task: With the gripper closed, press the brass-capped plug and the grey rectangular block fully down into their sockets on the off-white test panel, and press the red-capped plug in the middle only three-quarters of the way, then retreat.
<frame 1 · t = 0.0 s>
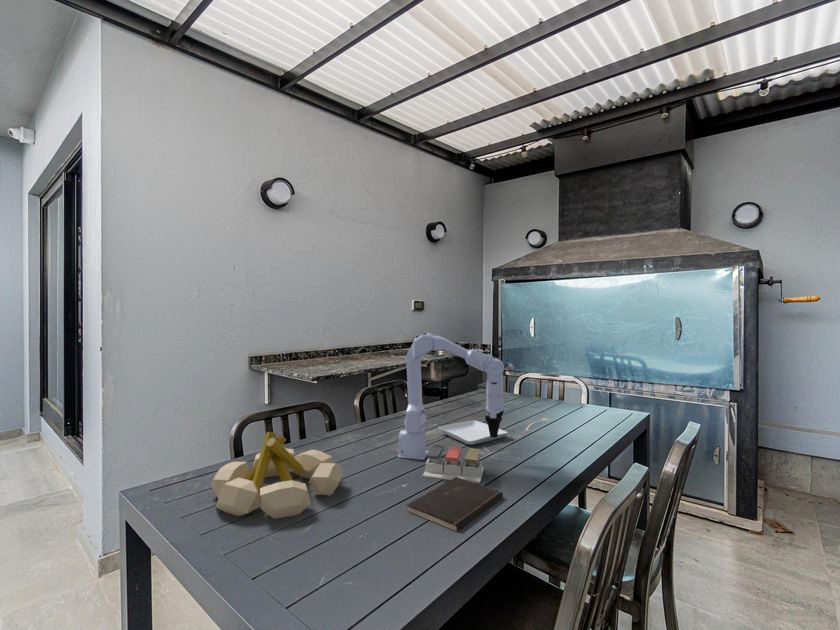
hand: (494, 433, 143), 10 cm above the table, tool pointing down, fingers open, 7 cm apart
campfire: (278, 492, 121), on the table
salad plate: (472, 437, 172), on the table
brass plug: (472, 460, 133), point 5 cm above the table, slide at 0.0 cm
red plug: (453, 458, 135), point 5 cm above the table, slide at 0.0 cm
hardcover book: (456, 507, 114), on the table
test panel: (453, 472, 135), on the table
grey rectangular block: (435, 456, 136), point 5 cm above the table, slide at 0.0 cm
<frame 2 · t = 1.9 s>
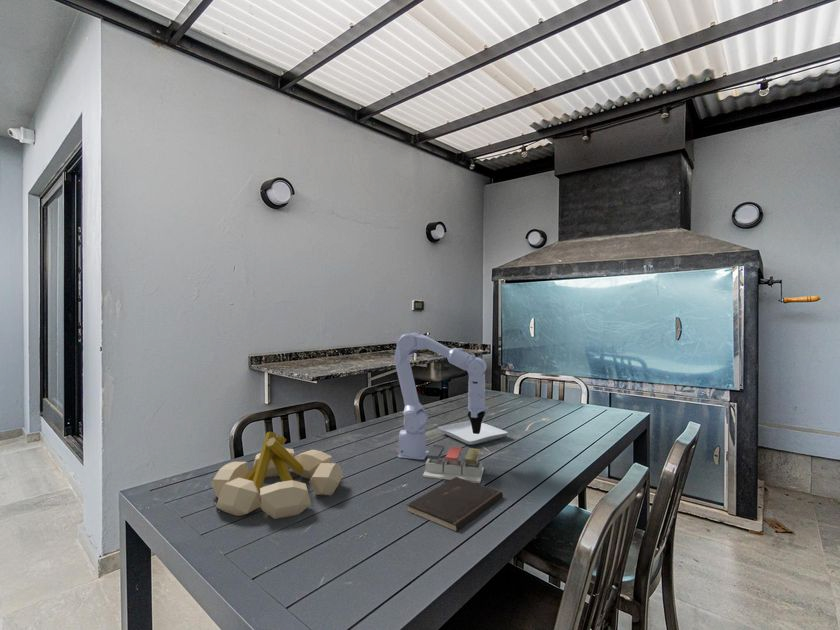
hand: (476, 433, 143), 10 cm above the table, tool pointing down, fingers closed
nothing on the table moved.
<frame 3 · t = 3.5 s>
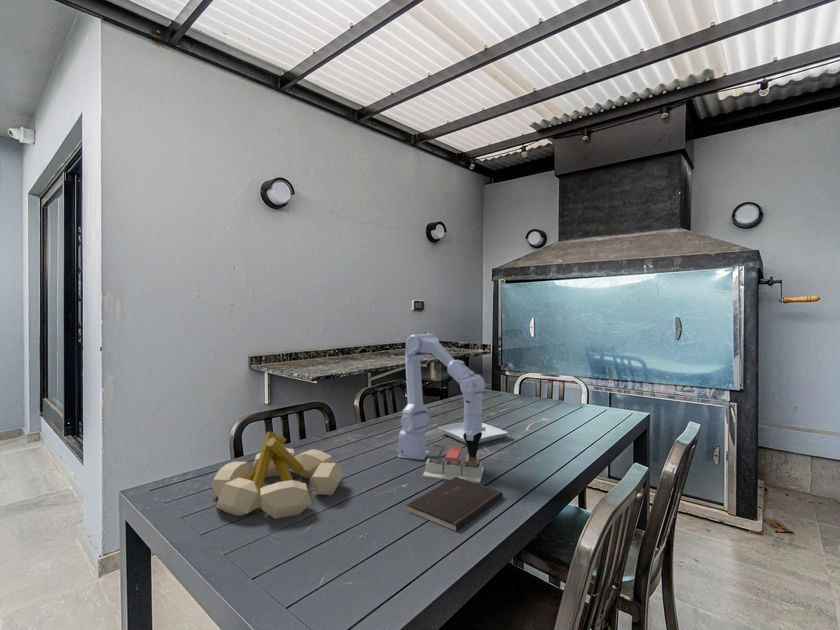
hand: (472, 456, 133), 6 cm above the table, tool pointing down, fingers closed, pressing on brass plug
brass plug: (472, 462, 133), point 4 cm above the table, slide at 0.7 cm, touching gripper
everything else where it was.
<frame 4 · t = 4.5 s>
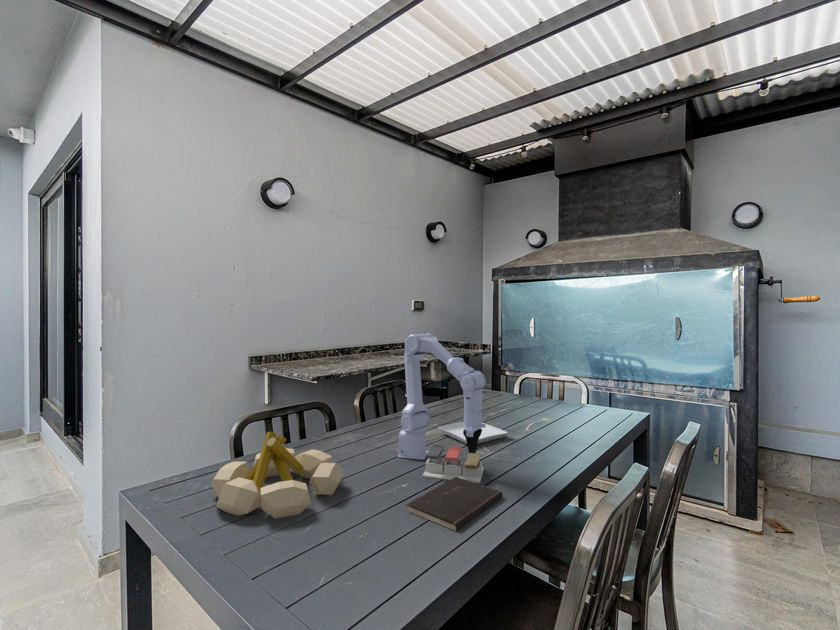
hand: (472, 452, 133), 7 cm above the table, tool pointing down, fingers closed
brass plug: (472, 465, 133), point 3 cm above the table, slide at 1.8 cm
everything else where it was.
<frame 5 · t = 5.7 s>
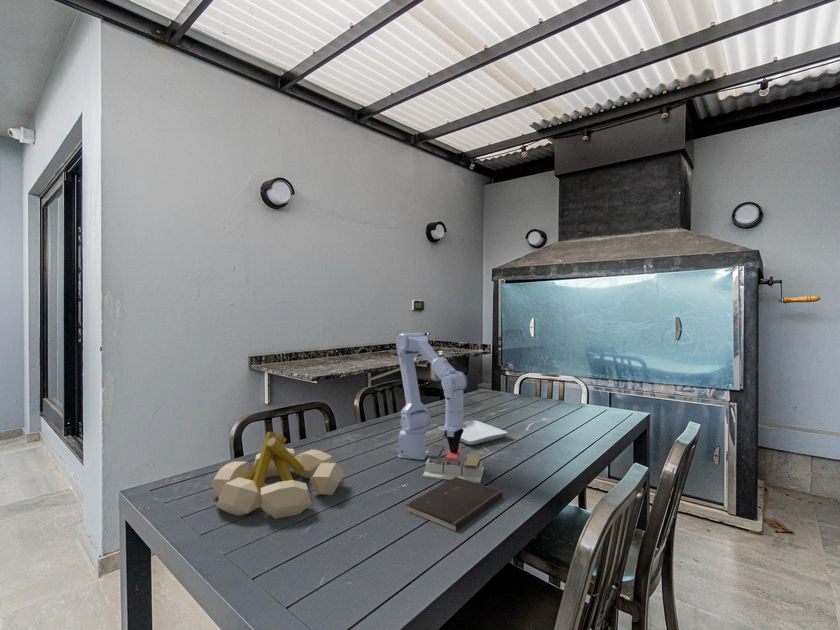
hand: (454, 452, 135), 7 cm above the table, tool pointing down, fingers closed, pressing on red plug
red plug: (453, 458, 135), point 5 cm above the table, slide at 0.1 cm, touching gripper
everything else where it was.
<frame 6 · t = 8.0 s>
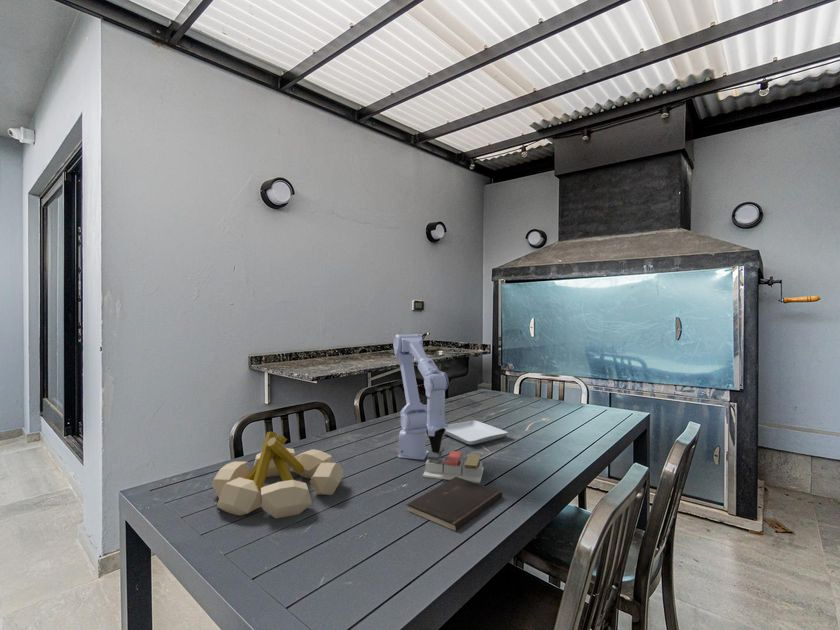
hand: (435, 451, 136), 6 cm above the table, tool pointing down, fingers closed, pressing on grey rectangular block
red plug: (453, 462, 135), point 3 cm above the table, slide at 1.4 cm
grey rectangular block: (435, 457, 136), point 4 cm above the table, slide at 0.4 cm, touching gripper
everything else where it was.
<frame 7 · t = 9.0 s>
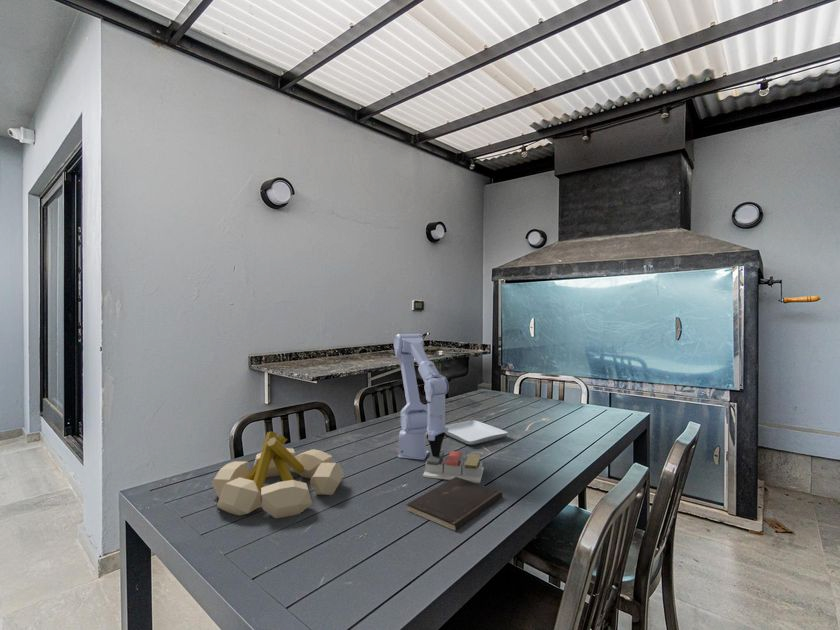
hand: (436, 455, 136), 5 cm above the table, tool pointing down, fingers closed
grey rectangular block: (435, 462, 136), point 3 cm above the table, slide at 1.9 cm
everything else where it was.
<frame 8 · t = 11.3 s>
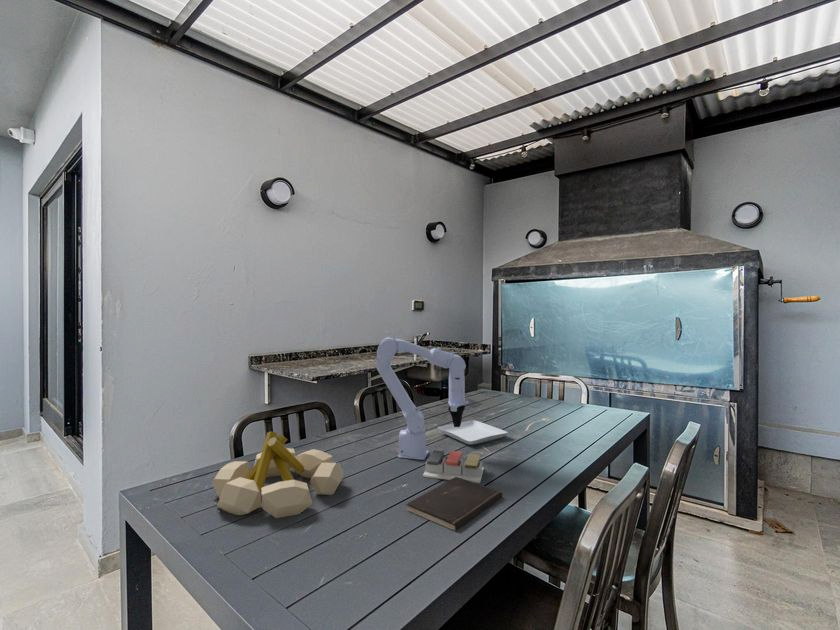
hand: (457, 426, 151), 10 cm above the table, tool pointing down, fingers closed
nothing on the table moved.
at the end: brass plug slide at 1.8 cm; grey rectangular block slide at 1.9 cm; red plug slide at 1.4 cm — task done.
